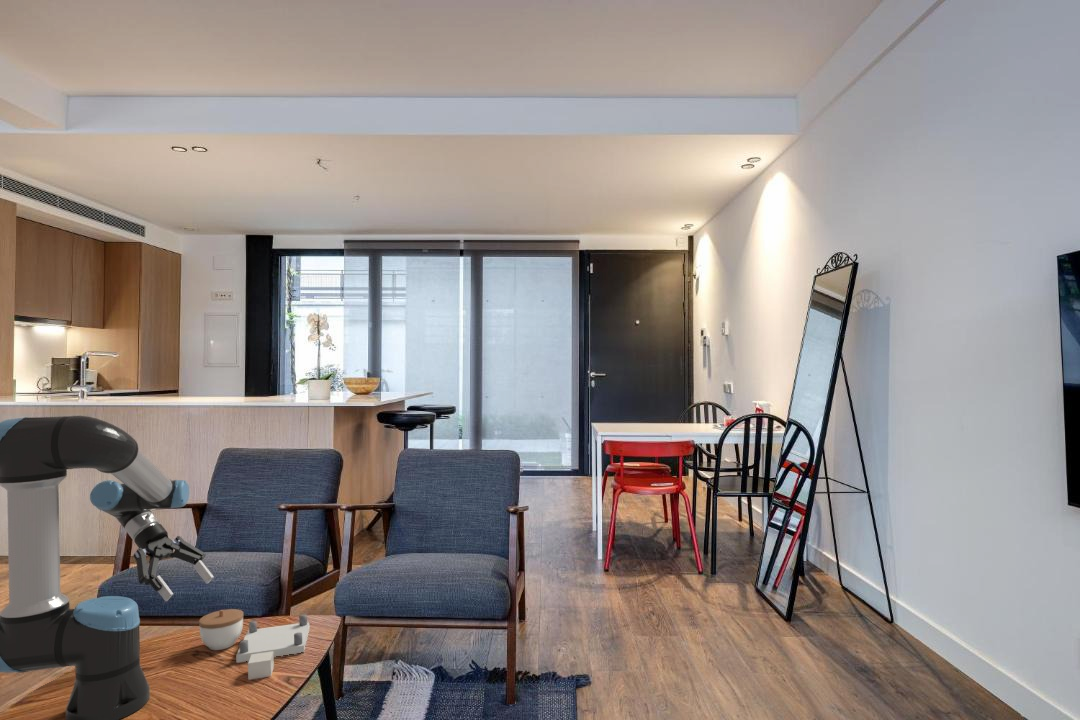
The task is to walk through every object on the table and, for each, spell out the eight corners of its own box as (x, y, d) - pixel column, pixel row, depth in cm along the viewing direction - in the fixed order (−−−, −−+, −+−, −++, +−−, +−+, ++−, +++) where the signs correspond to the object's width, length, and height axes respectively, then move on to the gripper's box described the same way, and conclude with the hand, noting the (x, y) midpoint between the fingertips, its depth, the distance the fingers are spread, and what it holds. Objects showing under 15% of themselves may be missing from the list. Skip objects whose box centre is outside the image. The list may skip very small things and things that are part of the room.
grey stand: (236, 663, 154) (236, 645, 155) (248, 637, 170) (248, 621, 170) (304, 653, 159) (303, 635, 159) (309, 628, 174) (309, 613, 174)
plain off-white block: (248, 680, 146) (247, 663, 146) (251, 670, 150) (251, 654, 150) (271, 676, 147) (270, 660, 147) (273, 667, 152) (273, 651, 152)
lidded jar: (252, 637, 170) (251, 603, 170) (227, 655, 159) (226, 618, 159) (217, 636, 171) (216, 602, 172) (190, 653, 161) (189, 617, 161)
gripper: (112, 534, 160) (158, 595, 156) (190, 512, 184) (232, 565, 180) (97, 553, 162) (142, 615, 157) (177, 529, 186) (218, 582, 181)
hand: (190, 588), depth 169 cm, fingers open, 13 cm apart
